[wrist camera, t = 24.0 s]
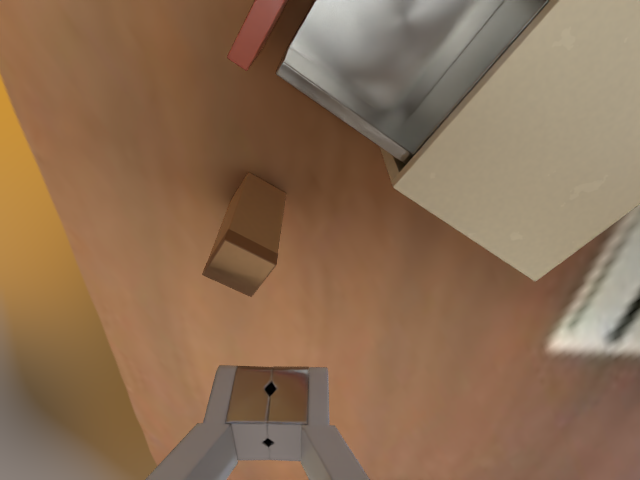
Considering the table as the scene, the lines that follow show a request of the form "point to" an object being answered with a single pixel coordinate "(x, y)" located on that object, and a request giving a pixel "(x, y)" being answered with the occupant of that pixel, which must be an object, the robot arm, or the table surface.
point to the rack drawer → (389, 59)
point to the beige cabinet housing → (541, 139)
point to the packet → (248, 237)
